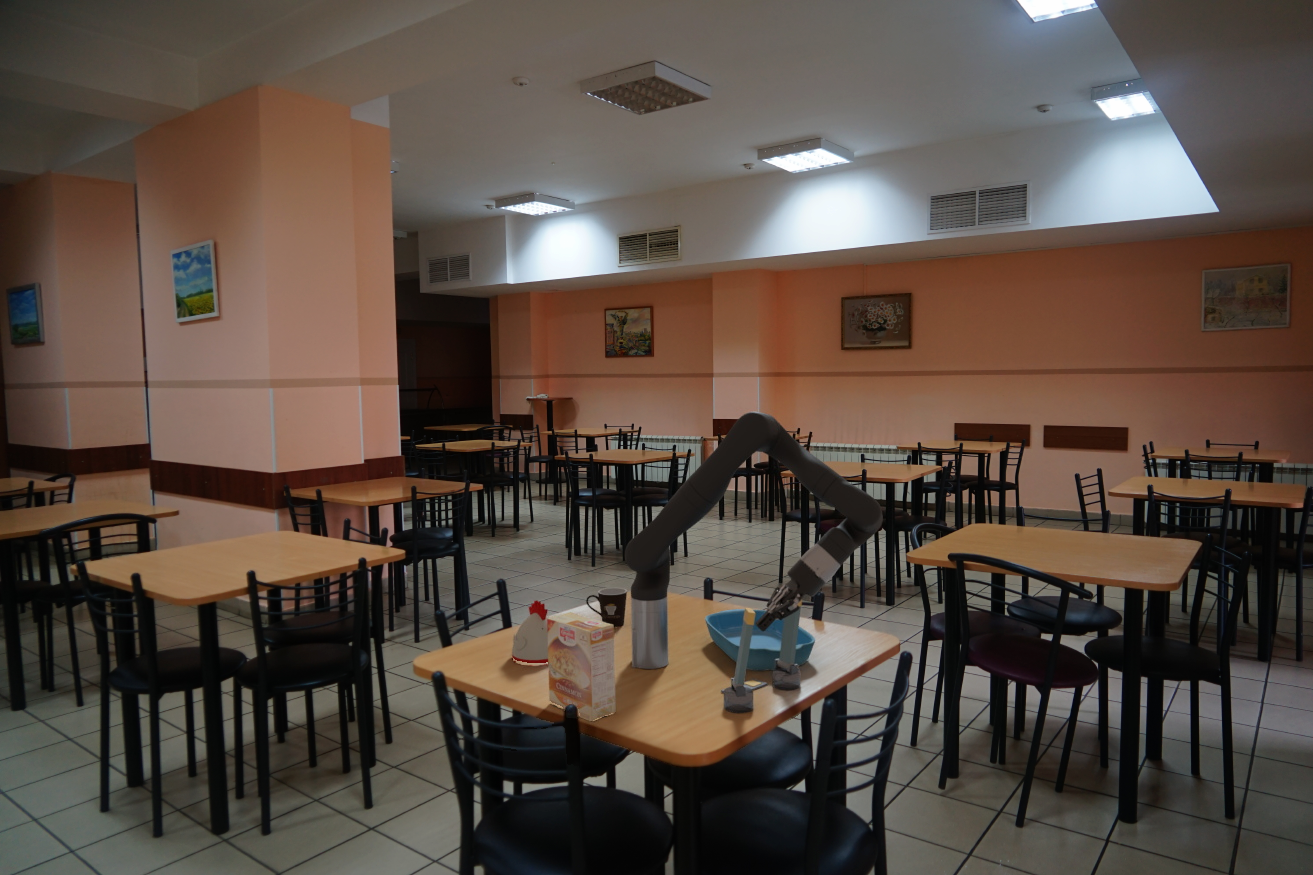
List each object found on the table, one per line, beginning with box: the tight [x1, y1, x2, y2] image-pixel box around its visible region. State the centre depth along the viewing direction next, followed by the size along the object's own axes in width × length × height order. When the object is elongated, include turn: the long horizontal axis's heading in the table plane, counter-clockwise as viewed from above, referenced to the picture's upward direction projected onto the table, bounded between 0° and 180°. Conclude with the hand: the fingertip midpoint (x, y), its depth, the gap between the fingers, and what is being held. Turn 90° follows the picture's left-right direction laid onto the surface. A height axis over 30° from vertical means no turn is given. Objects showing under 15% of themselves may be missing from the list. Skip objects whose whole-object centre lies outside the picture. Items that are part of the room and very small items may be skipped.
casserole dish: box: [704, 608, 816, 672], centre depth 209 cm, size 37×22×7 cm, turn 16°
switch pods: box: [723, 659, 801, 714], centre depth 178 cm, size 24×6×6 cm, turn 135°
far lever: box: [777, 599, 803, 671], centre depth 185 cm, size 2×4×18 cm, turn 32°
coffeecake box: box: [547, 611, 617, 722], centre depth 173 cm, size 15×7×20 cm, turn 45°
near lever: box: [732, 607, 756, 690], centre depth 172 cm, size 2×4×18 cm, turn 6°
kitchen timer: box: [511, 599, 550, 663], centre depth 208 cm, size 14×14×15 cm
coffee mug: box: [585, 587, 628, 628], centre depth 238 cm, size 12×9×10 cm
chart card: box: [720, 678, 768, 694], centre depth 183 cm, size 11×4×1 cm, turn 131°
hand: (759, 627), depth 172 cm, fingers closed
